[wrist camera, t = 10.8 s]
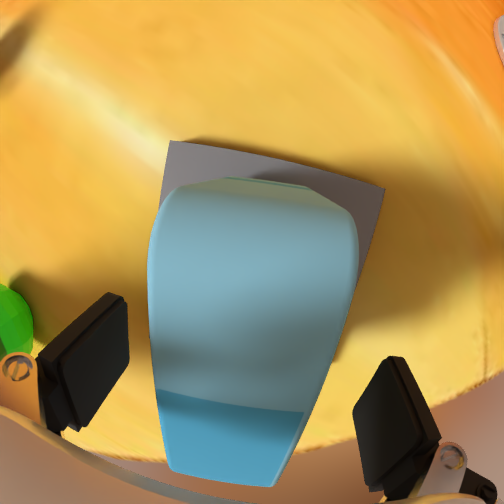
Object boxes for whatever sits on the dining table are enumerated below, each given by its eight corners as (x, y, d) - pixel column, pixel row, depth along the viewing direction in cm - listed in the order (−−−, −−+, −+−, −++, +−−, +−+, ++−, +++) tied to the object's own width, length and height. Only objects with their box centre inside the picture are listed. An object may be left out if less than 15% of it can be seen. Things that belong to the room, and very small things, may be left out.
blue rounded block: (232, 174, 17) (145, 190, 5) (306, 185, 16) (375, 223, 5) (215, 341, 20) (170, 480, 9) (275, 350, 20) (270, 497, 9)
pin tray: (377, 187, 17) (405, 193, 13) (317, 364, 22) (323, 401, 18) (177, 142, 18) (150, 135, 13) (155, 328, 22) (134, 360, 18)
